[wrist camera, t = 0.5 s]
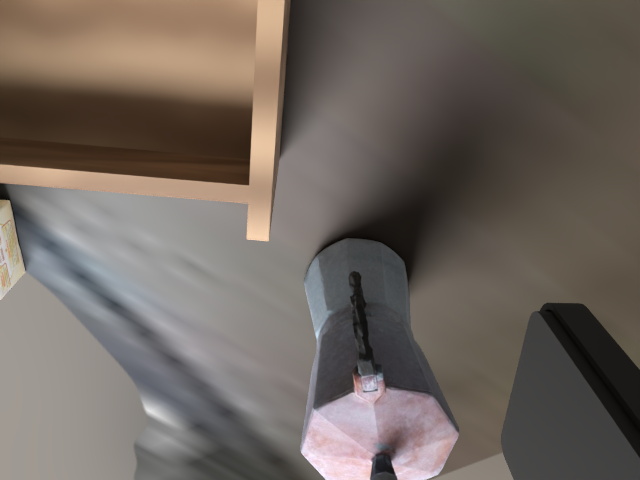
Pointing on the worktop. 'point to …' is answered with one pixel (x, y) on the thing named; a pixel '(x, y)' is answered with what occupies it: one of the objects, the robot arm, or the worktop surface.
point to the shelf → (146, 98)
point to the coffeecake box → (9, 250)
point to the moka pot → (370, 372)
